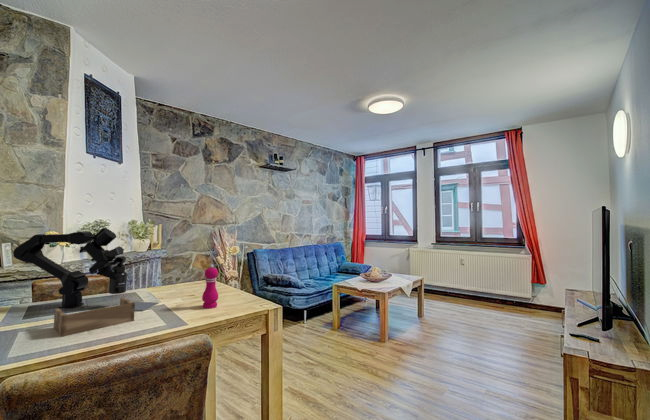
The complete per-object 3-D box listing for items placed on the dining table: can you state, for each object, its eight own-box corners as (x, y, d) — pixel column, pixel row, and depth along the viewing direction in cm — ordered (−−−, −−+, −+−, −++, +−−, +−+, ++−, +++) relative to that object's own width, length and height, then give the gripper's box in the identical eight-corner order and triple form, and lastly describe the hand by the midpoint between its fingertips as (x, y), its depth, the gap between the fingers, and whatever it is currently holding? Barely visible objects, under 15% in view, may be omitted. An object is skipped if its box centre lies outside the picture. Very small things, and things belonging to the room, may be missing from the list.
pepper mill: (220, 305, 147) (222, 263, 147) (213, 309, 140) (215, 265, 140) (206, 304, 147) (208, 262, 148) (198, 308, 140) (200, 265, 141)
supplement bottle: (121, 294, 137) (122, 267, 137) (105, 294, 136) (106, 267, 136) (129, 290, 143) (130, 265, 144) (114, 290, 143) (115, 265, 143)
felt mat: (116, 310, 134) (116, 309, 134) (133, 302, 146) (134, 301, 146) (142, 311, 134) (142, 310, 134) (158, 303, 146) (158, 302, 146)
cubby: (53, 327, 112) (54, 308, 112) (122, 313, 130) (123, 297, 130) (61, 336, 104) (62, 316, 105) (134, 320, 122) (134, 303, 122)
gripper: (98, 242, 131) (123, 269, 131) (123, 239, 149) (145, 262, 150) (77, 260, 130) (103, 287, 130) (105, 255, 148) (127, 278, 149)
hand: (121, 277), depth 140 cm, fingers closed on supplement bottle, 7 cm apart
